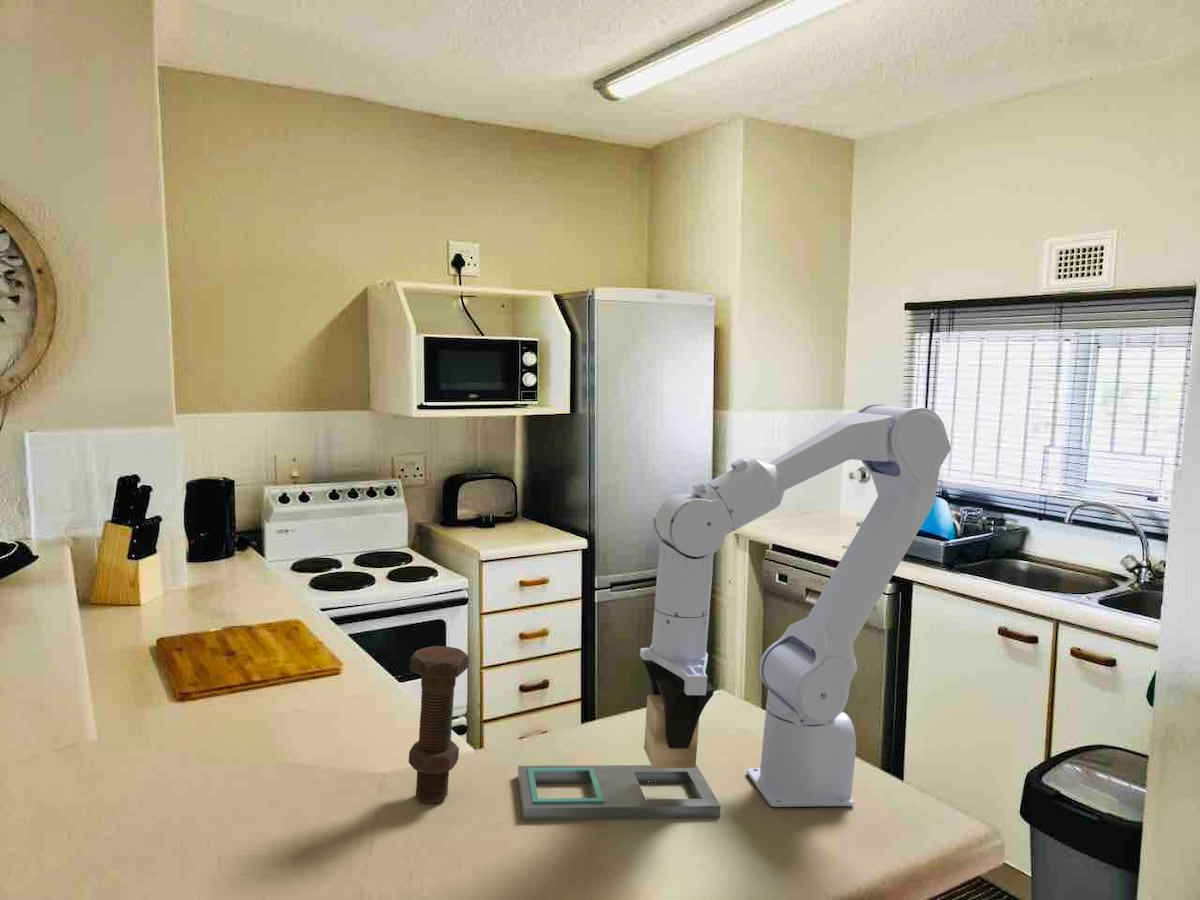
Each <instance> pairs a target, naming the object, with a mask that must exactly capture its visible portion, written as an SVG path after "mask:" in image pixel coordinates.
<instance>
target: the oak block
mask: <svg viewBox="0 0 1200 900" xmlns="http://www.w3.org/2000/svg"><path fill="white" fill-rule="evenodd" d="M646 696H647V699H646V713H645V725H644V726H645V727H644V742H643V743H644V744H643V750H644V752H645V754H646V756H647V758H648V761H649V763H650V765H652V767H653V768H696V765H697V753H698V751H697V750H698V739H699V738H698V737H699V727H700V726H699V723H700V721H699V720H700V718H699V719H698V722H697V725H696V728H695V731H694V734H693V737H692V740H691V743H690V745H689V748H688V749H670V748H669V746H668V743H667V738H666V725H665V711H664V705H663V700H662V697H661V695H652V694H647V695H646Z"/></svg>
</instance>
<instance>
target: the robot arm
mask: <svg viewBox="0 0 1200 900" xmlns="http://www.w3.org/2000/svg"><path fill="white" fill-rule="evenodd" d="M951 450H952V448H951V443H950V441H949V437H948V434H947V431H946V427H945V423H944V422H943V420H942V419H941V417H940V416H939V415H938V414H937V413H936V412H934V411H933V410H932V409H929V408H926V407H917V406H916V407H900V406H899V407H898V406H887V405H884V404H881V403H870V404H867V405H864V406H863V407H861V408H860V409H858V411H852V412H850V413H847V414H844V415H843V416H842V417H841V418H840V419H838V420H837V421H835V422H834V423H833V424H831V425H829V426H828V427H826V428H824V429H823V430H821V431H819V432H818V433H815V434H814V435H812V436H811V437H810V438H808V439H806V440H804V441H803V442H801V443H799V444H797V445H796V446H795V447H793V448H791V449H789V450H788V451H786V452H785V453H783V454H781V455H779V456H777V457H775V459H773V460H771V461H770V462H764V461H762V460H758V459H755V458H752V459H750V460H745V459H741V458H739V459H737V460H734V461H733V462H732V463H730V466H731V469H730V470H729V471H726V472H725V473H723V474H721V475H719V476H716V477H715V478H713V479H712V480H710V481H708V482H706V483H705V484H704V483H703V482H701V481H699V482H697V483H694V485H692V490H693V491H692V494H689V493H677V494H673V495H671V496H669V497H668V498H666V499H665V500H664V501H663V502H661V507H659V508H658V509H657V512H656V515H655V516H653V517H652V526H653V530H654V533H655V534H656V537H657V538H658V539H659V540H660V541H659V551H658V563H657V568H656V569H657V570H656V582H655V585H656V586H655V597H654V611H653V624H652V636H651V644H650V647H641V648H640V649H639V657H641V659H642V663H643V665H644V667H645V670H646V674H647V676H648V680H649V683H650V684H649V685H650V690H651V693H652V694H651V695H661V697H662V700H663V705H664V711H665V725H666V738H667V743H668V746H669V748H670V749H688V748H689V745H690V743H691V740H692V737H693V734H694V731H695V728H696V725H697V722H698V719H699V720H700V717H701V714H702V712H703V710H704V708H705V706H706V705H707V703H708V702H709V701H710V699H711V698H712V697H713V696H714V693H715V687H714V686H713V684H711V682H708V675H707V673H706V670H707V665H708V658H709V654H708V652H707V649H708V648H707V647H708V646H707V645H708V633H709V624H710V623H709V621H710V607H711V597H712V595H711V594H712V583H713V581H712V580H713V569H714V568H713V566H714V555H715V553H716V552H717V551H718V550H719V549H720V548H721V547H722V545H723V543H725V542H724V541H725V539H726V536H727V535H729V534H731V533H733V532H734V531H737V530H738V529H739V530H740V529H741V528H742V527H745V526H746V525H748V524H749V523H752V522H754V521H755V520H757V519H760V518H761V517H762V516H764V515H766V514H768V513H771V512H772V511H773V510H775V509H777V508H779V506H780V505H781V503H782V500H783V497H784V494H785V492H786V491H787V490H789V489H791V488H792V487H795V486H797V485H799V484H801V483H803V482H805V481H807V480H809V479H812V478H813V477H816V476H818V475H820V474H822V473H824V472H826V471H828V470H830V469H832V468H834V467H836V466H839V465H841V464H843V463H845V462H847V461H850V460H856V461H857V460H858V461H861V463H862V464H863V466H864V467H865V469H866V470H867V471H868V473H869V474H870V475H871V478H872V481H873V484H874V486H875V491H876V494H877V498H876V500H875V501H874V503H873V504H872V506H871V508H870V510H869V512H868V513H867V515H866V516H865V518H864V520H863V521H862V523H861V525H860V527H859V528H858V530H857V532H856V534H855V535H854V537H853V538H852V540H851V542H850V544H849V546H848V547H847V549H846V551H845V552H844V554H843V556H841V557H842V558H840V561H839V562H838V564H837V566H836V568H835V570H834V571H833V573H832V575H831V576H830V578H829V580H828V581H827V582H826V584H825V587H824V588H823V590H822V591H821V593H820V595H819V597H818V598H817V600H816V602H815V603H814V605H813V607H812V608H811V610H810V612H809V613H808V615H807V616H806V617H805V618H802V619H801V620H798V621H796V622H794V623H791V624H789V625H788V627H787V628H786V630H785V632H784V633H783V634H782V636H781V637H780V638H779V639H778V640H776V641H775V642H773V643H772V644H771V645H770V646H768V647H767V648H766V649H765V651H764V652H763V654H762V656H761V658H760V662H759V669H758V670H759V675H760V679H761V680H762V683H763V684H764V686H766V688H767V696H766V697H767V699H766V704H765V705H766V707H765V716H764V717H765V718H764V727H763V736H762V749H761V757H760V758H761V760H760V767H750V768H747V769H746V774H747V775H748V776H749V778H750V779H751V781H752V782H753V784H754V785H755V786H756V788H757V790H758V791H759V792H760V794H761V796H763V798H764V799H765V801H766V802H767V804H768V805H769V806H770V807H773V808H785V807H787V808H789V807H793V808H795V807H799V808H800V807H803V808H804V807H853V806H855V805H854V804H855V801H854V799H853V798H852V794H853V791H852V790H853V783H854V771H855V762H856V752H857V739H856V737H857V736H856V731H855V727H854V724H853V722H852V719H851V718H850V717H849V715H848V714H847V713H846V712H844V710H845V708H846V706H847V703H848V700H849V698H850V697H849V695H850V687H851V683H852V681H853V678H854V676H855V675H856V672H857V671H858V664H857V660H856V656H855V650H854V642H855V641H856V639H857V638H858V635H859V634H860V632H861V631H862V629H863V627H864V626H865V624H866V622H867V620H868V618H869V617H870V615H871V614H872V612H873V610H874V609H875V607H876V605H877V603H878V601H879V599H880V598H881V596H882V595H883V593H884V592H885V590H886V588H887V586H888V584H889V583H890V581H891V579H892V577H893V576H894V574H895V573H896V570H897V569H898V567H899V565H900V564H901V562H902V560H903V559H904V557H905V555H906V554H907V552H908V550H909V548H910V547H911V545H912V543H913V542H914V540H915V538H916V536H917V534H918V532H919V531H920V529H921V528H922V526H923V524H924V522H925V521H926V519H927V518H928V516H929V514H930V512H931V510H932V509H933V506H934V504H935V502H936V497H937V496H936V495H937V489H938V483H939V477H940V471H941V470H940V469H941V468H942V465H943V463H944V462H945V460H946V459H947V456H948V454H949V453H950V451H951Z"/></svg>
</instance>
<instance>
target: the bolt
mask: <svg viewBox="0 0 1200 900" xmlns="http://www.w3.org/2000/svg"><path fill="white" fill-rule="evenodd" d="M469 658H470V657H469V655H468V654H467V653H466V652H465V651H464V650H462V649H460V648H457V647H452V646H443V645H433V646H427V647H423V648H420V649H417V650H416V651H415V652H414V653H413V654H412V656H411V657H410V659H409V671H411V672H413V673H415V674H417V675H419V676H421V681H420V683H421V684H420V685H421V691H420V692H421V693H420V694H421V696H420V697H421V698H420V700H421V701H420V703H421V704H420V713H419V714H420V717H419V719H420V721H419V731H418V732H419V733H418V741H417V740H416V742H414V744H413V745H412V746H411V748H410V750H409V752H408V764H409V765H410V766H411V767H412V768H413V769H414V770H415V771H416V783H415V784H416V785H415V786H416V787H415V798H416V799H417V800H419V802H422V803H427V804H437V803H441V802H443V801H444V800H445V799H446V798H447V796H448V795H449V794H448V793H449V776H450V773H449V772H450V771H451V770H452V769H453V768H454V767H455V766H456V765H457V762H458V760H459V753H460V752H459V751H460V748H459V747H458V745H457V744H456V743H455V742H454V741H452V727H453V725H452V724H453V714H454V713H453V712H454V697H455V693H454V692H455V687H456V683H457V682H456V681H457V680H456V679H457V678H458V677H459V676H460V675H462V673H464V672H465V671H466V670H468V668H469Z"/></svg>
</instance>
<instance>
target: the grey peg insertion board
mask: <svg viewBox="0 0 1200 900" xmlns="http://www.w3.org/2000/svg"><path fill="white" fill-rule="evenodd" d="M648 781H649V782H648ZM651 781H652V782H651ZM655 781H656V782H655ZM517 782H518V789H519V796H520V805H521V810H522V811H521V813H522V819H523V821H543V820H544V821H545V820H546V821H549V820H550V821H553V820H554V821H555V820H557V821H558V820H559V821H560V820H562V821H565V820H566V821H567V820H616V819H617V820H619V819H622V820H623V819H628V820H629V819H630V820H631V819H687V818H688V819H691V818H693V819H696V818H697V819H699V818H700V819H701V818H703V819H704V818H721V807H722V806H721V804H720V802H719V800H718V799H717V797H716V795H715V794H714V792H713V790H712V788H711V786H710V785H709V783H708V782H707V780H706V779H705V777H704V775H703V774H702V772H701V770H700V768H699V767H698V765H697V764H696V768H653V767H652V765H651V764H648V765H646V764H645V765H644V764H643V765H640V764H639V765H637V764H636V765H632V764H631V765H629V764H628V765H616V764H615V765H609V764H607V765H603V764H602V765H518V767H517ZM540 782H545V783H544V784H559V783H560V784H567V783H568V784H572V783H573V784H577V783H578V784H581V783H582V784H583V783H587V784H588V787H589V791H590V794H591V797H576V798H575V797H570V798H569V797H568V798H567V797H565V798H562V797H560V798H558V797H557V798H555V797H554V798H550V797H549V798H547V797H546V798H539V795H538V794H539V793H538V789H537V784H541V783H540ZM548 782H549V783H548ZM640 783H686V784H687V785H688V788H689V789H690V792H691V794H692V796H693V797H694V798H658V799H657V798H656V799H655V798H654V799H653V798H649V799H647V798H646V796H645V794H644V792H643V789H642V788H641V785H640Z"/></svg>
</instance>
